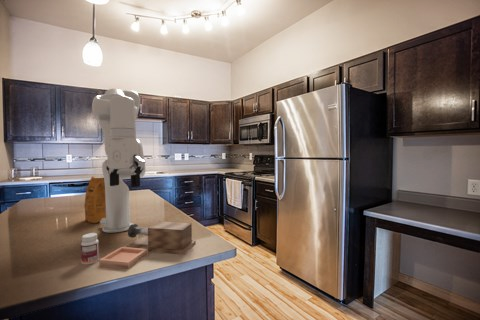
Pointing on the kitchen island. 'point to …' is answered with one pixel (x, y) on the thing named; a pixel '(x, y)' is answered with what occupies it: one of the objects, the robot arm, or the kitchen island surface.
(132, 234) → the shaft
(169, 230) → the block
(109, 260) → the tray
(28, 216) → the kitchen island surface
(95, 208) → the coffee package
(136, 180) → the robot arm
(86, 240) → the pill bottle
